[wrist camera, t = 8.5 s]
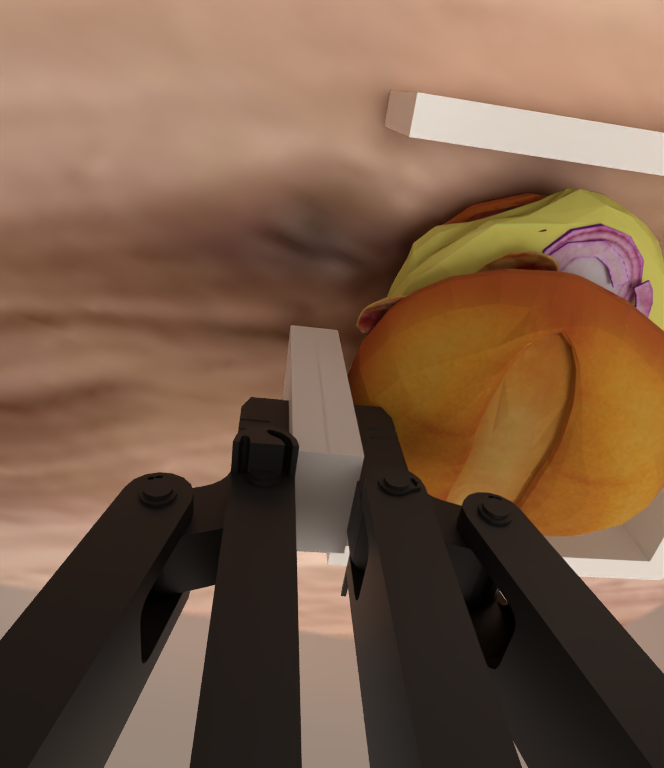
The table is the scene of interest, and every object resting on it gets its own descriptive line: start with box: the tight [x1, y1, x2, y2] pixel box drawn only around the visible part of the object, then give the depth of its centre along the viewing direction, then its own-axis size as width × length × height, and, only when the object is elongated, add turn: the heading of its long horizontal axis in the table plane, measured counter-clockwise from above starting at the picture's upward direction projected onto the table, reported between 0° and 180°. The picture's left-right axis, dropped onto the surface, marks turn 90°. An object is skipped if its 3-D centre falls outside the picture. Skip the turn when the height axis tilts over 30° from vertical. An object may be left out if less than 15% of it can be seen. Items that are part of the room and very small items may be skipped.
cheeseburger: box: [347, 188, 664, 536], centre depth 18 cm, size 10×11×10 cm
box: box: [327, 91, 664, 580], centre depth 20 cm, size 14×16×4 cm
